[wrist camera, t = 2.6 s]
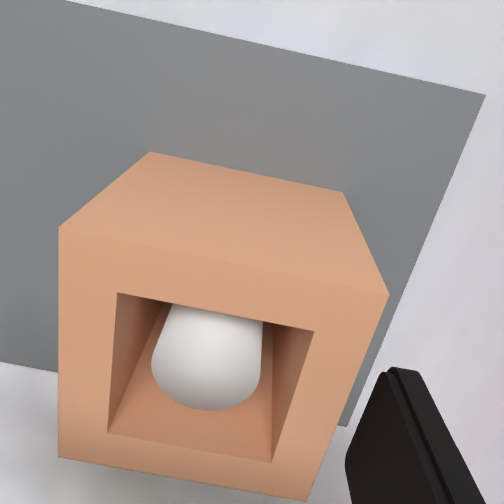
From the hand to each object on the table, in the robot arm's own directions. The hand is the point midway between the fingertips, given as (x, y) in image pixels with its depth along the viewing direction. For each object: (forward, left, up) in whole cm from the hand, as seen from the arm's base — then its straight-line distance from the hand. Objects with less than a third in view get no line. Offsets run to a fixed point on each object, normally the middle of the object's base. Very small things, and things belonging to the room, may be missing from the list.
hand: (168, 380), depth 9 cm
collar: (-1, 0, -6) cm, 6 cm away
